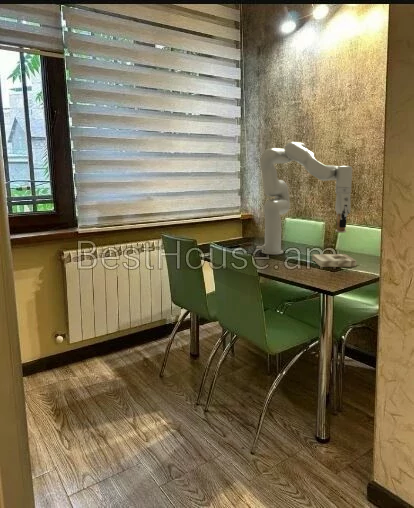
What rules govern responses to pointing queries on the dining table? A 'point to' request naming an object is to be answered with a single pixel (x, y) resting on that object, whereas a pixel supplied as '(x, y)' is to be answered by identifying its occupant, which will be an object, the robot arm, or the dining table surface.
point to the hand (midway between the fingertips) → (341, 226)
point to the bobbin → (340, 230)
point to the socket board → (334, 260)
